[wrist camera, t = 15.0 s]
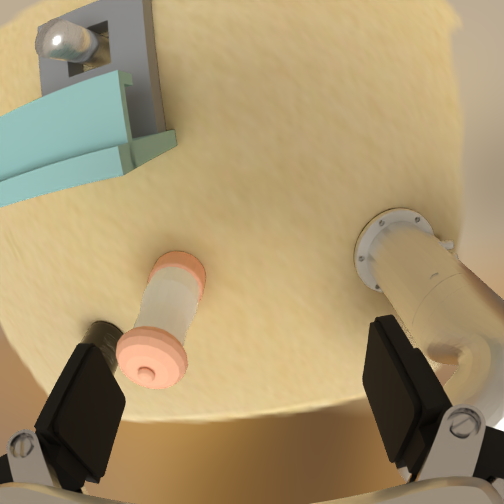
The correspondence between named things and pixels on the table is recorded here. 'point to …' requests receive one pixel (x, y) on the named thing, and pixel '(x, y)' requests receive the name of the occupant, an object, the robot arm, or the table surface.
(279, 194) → the table surface
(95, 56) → the peg
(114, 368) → the supplement bottle
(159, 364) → the salt shaker
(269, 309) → the table surface
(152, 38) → the socket stand
